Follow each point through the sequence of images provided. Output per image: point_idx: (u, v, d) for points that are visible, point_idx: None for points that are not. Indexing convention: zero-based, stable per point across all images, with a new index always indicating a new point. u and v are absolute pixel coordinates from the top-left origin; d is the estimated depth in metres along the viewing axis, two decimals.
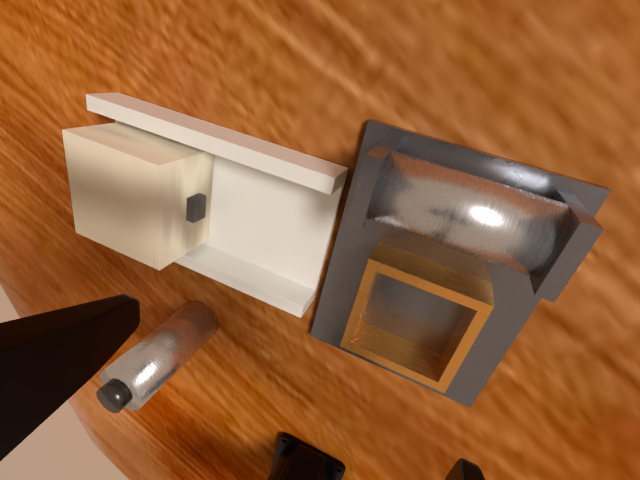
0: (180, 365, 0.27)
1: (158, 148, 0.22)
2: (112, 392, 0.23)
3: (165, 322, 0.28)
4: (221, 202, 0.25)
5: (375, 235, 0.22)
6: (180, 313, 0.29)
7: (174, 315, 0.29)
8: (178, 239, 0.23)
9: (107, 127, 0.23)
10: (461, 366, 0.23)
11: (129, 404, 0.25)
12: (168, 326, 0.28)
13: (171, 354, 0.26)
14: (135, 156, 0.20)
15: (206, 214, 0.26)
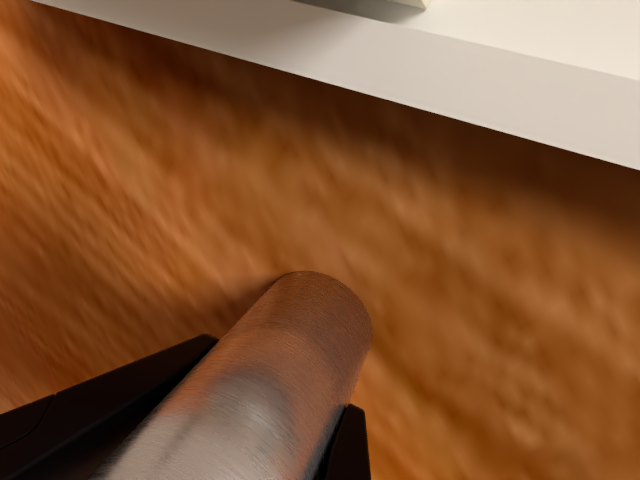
0: None
1: None
2: None
3: (237, 338, 0.08)
4: None
5: None
6: (280, 306, 0.09)
7: (258, 312, 0.09)
8: None
9: None
10: None
11: None
12: (255, 354, 0.07)
13: None
14: None
15: None
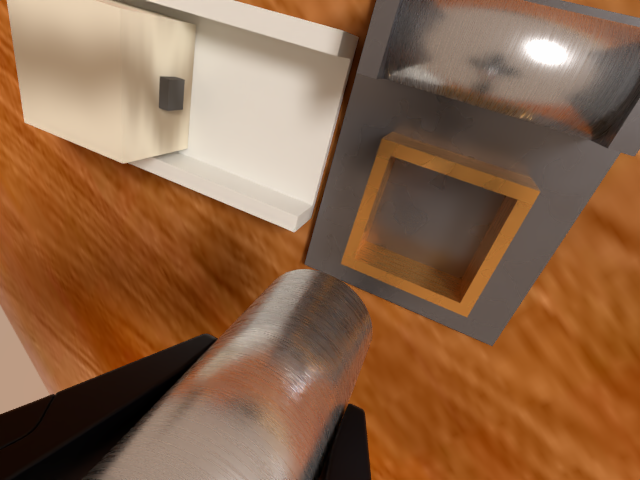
0: None
1: (124, 6, 0.18)
2: None
3: (236, 335, 0.08)
4: (204, 97, 0.21)
5: (388, 124, 0.18)
6: (279, 304, 0.09)
7: (258, 310, 0.09)
8: (148, 130, 0.19)
9: None
10: (485, 293, 0.19)
11: None
12: (255, 352, 0.07)
13: None
14: None
15: (185, 111, 0.21)
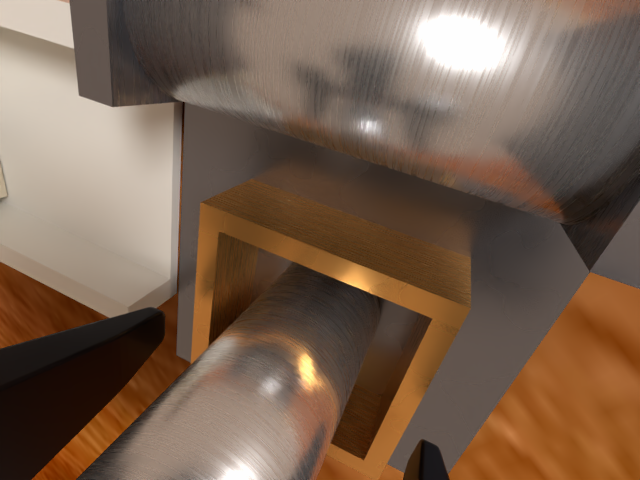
0: None
1: None
2: None
3: (257, 311, 0.09)
4: (7, 125, 0.14)
5: (244, 167, 0.11)
6: (294, 285, 0.10)
7: (275, 290, 0.10)
8: None
9: None
10: (418, 419, 0.13)
11: None
12: (275, 324, 0.08)
13: (307, 433, 0.07)
14: None
15: None
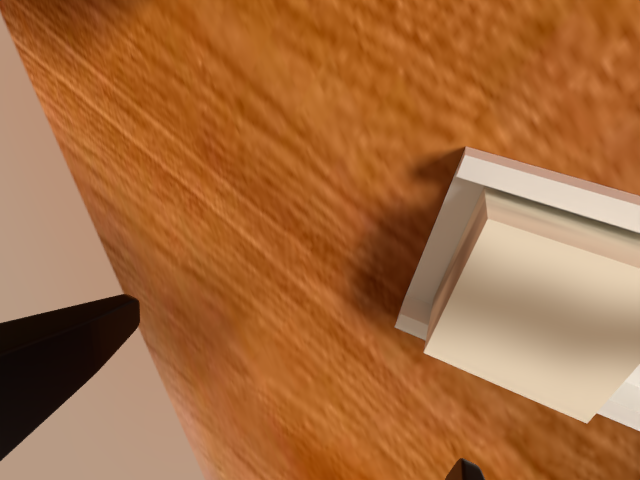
0: None
1: (616, 244, 0.14)
2: None
3: None
4: None
5: None
6: None
7: None
8: None
9: (502, 205, 0.15)
10: None
11: None
12: None
13: None
14: None
15: None
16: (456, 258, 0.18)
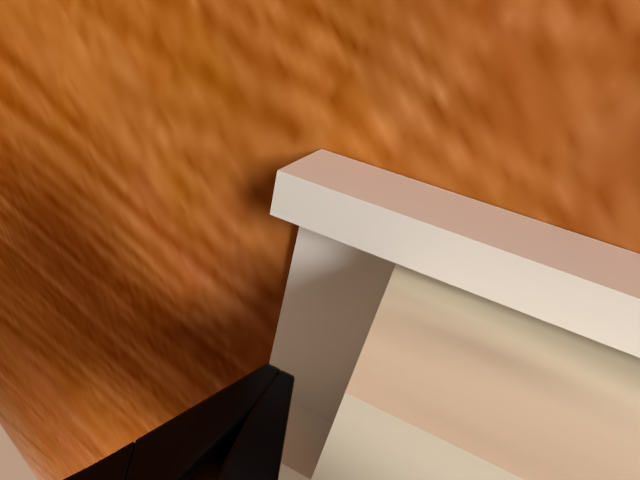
0: None
1: None
2: None
3: None
4: None
5: None
6: None
7: None
8: None
9: (417, 308, 0.07)
10: None
11: None
12: None
13: None
14: None
15: None
16: None
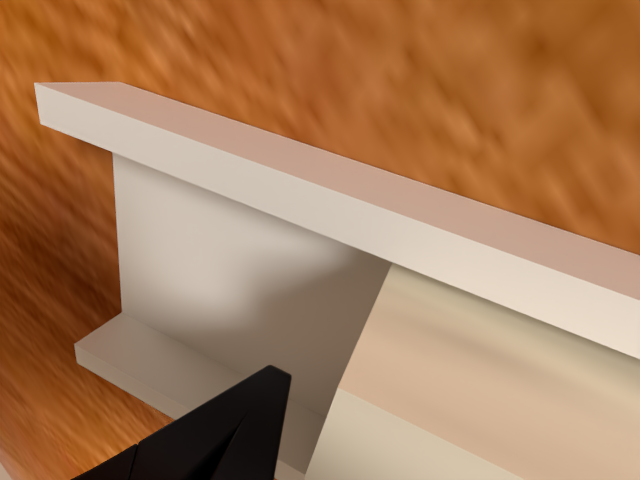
0: None
1: None
2: None
3: None
4: (357, 340, 0.11)
5: None
6: None
7: None
8: None
9: (412, 306, 0.07)
10: None
11: None
12: None
13: None
14: None
15: None
16: None
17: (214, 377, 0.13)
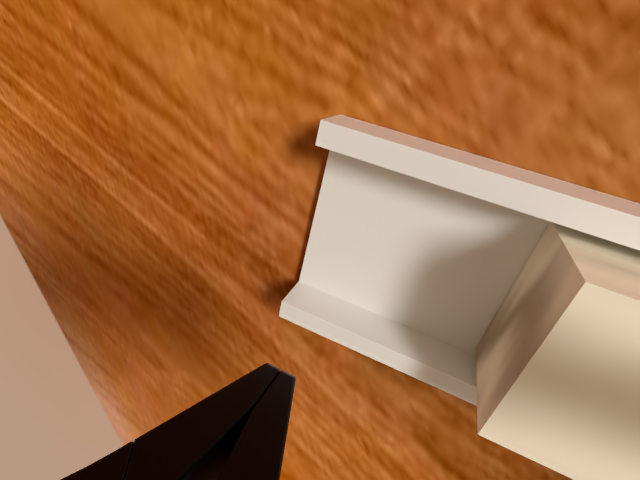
0: None
1: None
2: None
3: None
4: (504, 290, 0.16)
5: None
6: None
7: None
8: None
9: (587, 253, 0.12)
10: None
11: None
12: None
13: None
14: None
15: None
16: (515, 310, 0.14)
17: (382, 324, 0.18)
